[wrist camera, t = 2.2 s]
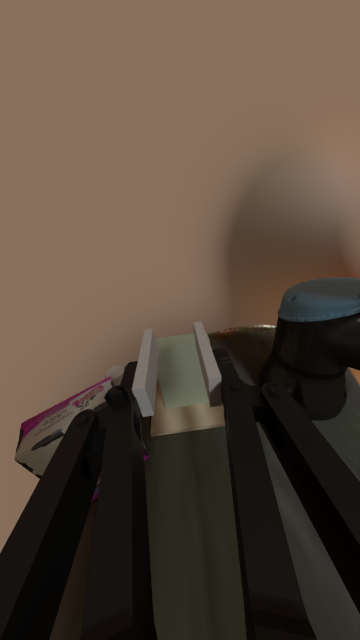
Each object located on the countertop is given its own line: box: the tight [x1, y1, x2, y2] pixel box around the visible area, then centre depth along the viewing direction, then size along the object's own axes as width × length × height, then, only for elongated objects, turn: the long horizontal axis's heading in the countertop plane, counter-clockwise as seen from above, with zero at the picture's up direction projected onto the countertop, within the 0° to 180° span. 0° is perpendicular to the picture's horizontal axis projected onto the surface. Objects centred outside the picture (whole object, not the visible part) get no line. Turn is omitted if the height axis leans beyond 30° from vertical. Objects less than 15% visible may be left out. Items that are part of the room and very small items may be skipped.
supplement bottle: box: [105, 365, 125, 385], centre depth 37 cm, size 6×6×10 cm
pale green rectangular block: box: [156, 331, 210, 409], centre depth 33 cm, size 10×3×16 cm, turn 94°
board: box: [150, 378, 225, 437], centre depth 40 cm, size 16×18×1 cm
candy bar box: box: [15, 376, 149, 504], centre depth 25 cm, size 11×5×16 cm, turn 125°
